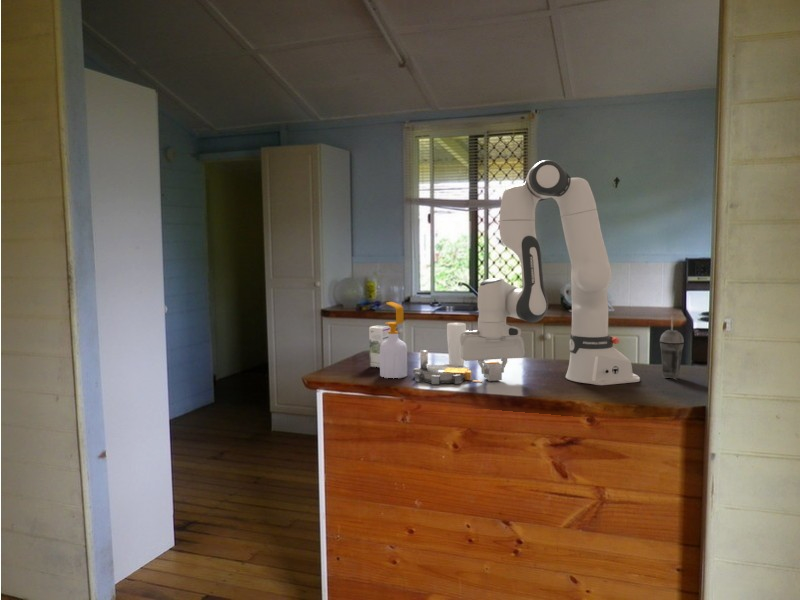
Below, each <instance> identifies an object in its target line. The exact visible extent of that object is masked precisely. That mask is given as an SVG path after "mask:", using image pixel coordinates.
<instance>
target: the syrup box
mask: <svg viewBox="0 0 800 600" xmlns="http://www.w3.org/2000/svg"><path fill="white" fill-rule="evenodd" d="M388 331H391V327H389V325H372V326H369V328H368V333H369V334H368V337H369V338H368V339H369V343H368V344H369V345H368V346H369V367H371V368H376V367H377V368H378V369H380V345H381V343H383V342H384V341H385V340H387V339H388ZM377 368H376V369H377Z"/></svg>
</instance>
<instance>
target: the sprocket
mask: <svg viewBox="0 0 800 600" xmlns="http://www.w3.org/2000/svg"><path fill="white" fill-rule="evenodd" d="M419 352H420V353H419V354H420V358H419V359H420V361H419V363H420V365H419V366H420V367H415V368H413V369H412V378H414V381H416V382H419V383H420V382H423V383H431V385H440V384H454V385H458V384H462V382H464V381H471V380H472V374H473V373H472V370H469V369H470V368H469V367H468V366H464V365H463V366H460V367H459V366H452V364H449V363H447V364H446V363H445V364H434V365H432V364H429V357H428V356H429V354H428V353H429V351H428V350H425V349H423V350H421V349H420V351H419Z"/></svg>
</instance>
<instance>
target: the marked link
mask: <svg viewBox="0 0 800 600" xmlns="http://www.w3.org/2000/svg"><path fill="white" fill-rule="evenodd" d="M483 366H484V367H486V368H487V374H483V377H484V378H485V379H486V380H488V381H490V382H492V381H502V380H503V379H502V378H503V377H502V375H503V374H502V363H500V362H499V361H497V360H489V361H488V360H484V363H483Z"/></svg>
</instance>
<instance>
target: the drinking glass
mask: <svg viewBox="0 0 800 600" xmlns="http://www.w3.org/2000/svg"><path fill="white" fill-rule="evenodd" d="M465 331H467V323H464V322H448V323H447V324H446V340H447V350H448V364H452V366H459V367H463V366H464V365H465V361H464V360H463V359H462V358H461V343H460V336H461V334H462V333H464V332H465ZM463 335H465V334H463Z"/></svg>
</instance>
